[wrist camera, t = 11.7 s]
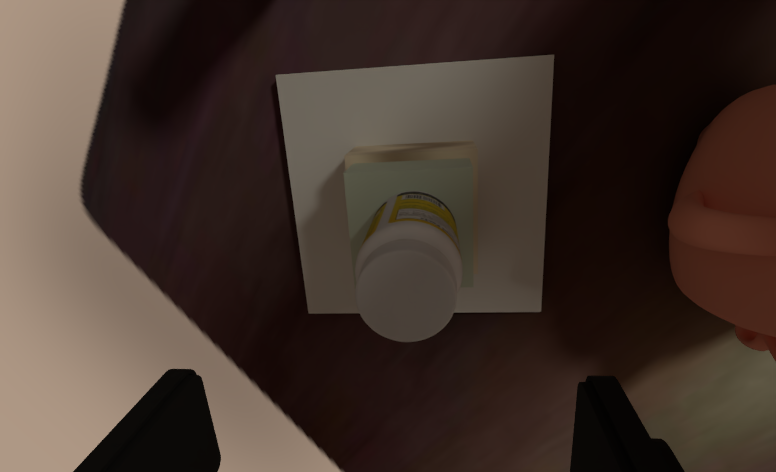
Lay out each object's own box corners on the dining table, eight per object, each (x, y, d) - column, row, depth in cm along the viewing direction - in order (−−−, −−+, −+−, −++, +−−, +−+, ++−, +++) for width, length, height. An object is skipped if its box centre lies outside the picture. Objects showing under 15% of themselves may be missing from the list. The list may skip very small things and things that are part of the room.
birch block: (472, 140, 30) (477, 149, 26) (473, 251, 33) (477, 273, 29) (355, 146, 31) (344, 155, 27) (365, 253, 34) (355, 276, 30)
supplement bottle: (396, 281, 26) (379, 367, 18) (357, 212, 25) (320, 273, 17) (471, 247, 25) (487, 325, 17) (434, 173, 24) (432, 220, 16)
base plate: (550, 55, 29) (554, 54, 28) (538, 305, 35) (541, 312, 34) (280, 75, 31) (275, 74, 30) (311, 307, 37) (308, 313, 36)
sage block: (469, 158, 27) (473, 167, 24) (469, 266, 29) (473, 287, 26) (352, 163, 27) (343, 173, 25) (362, 268, 30) (354, 288, 27)
